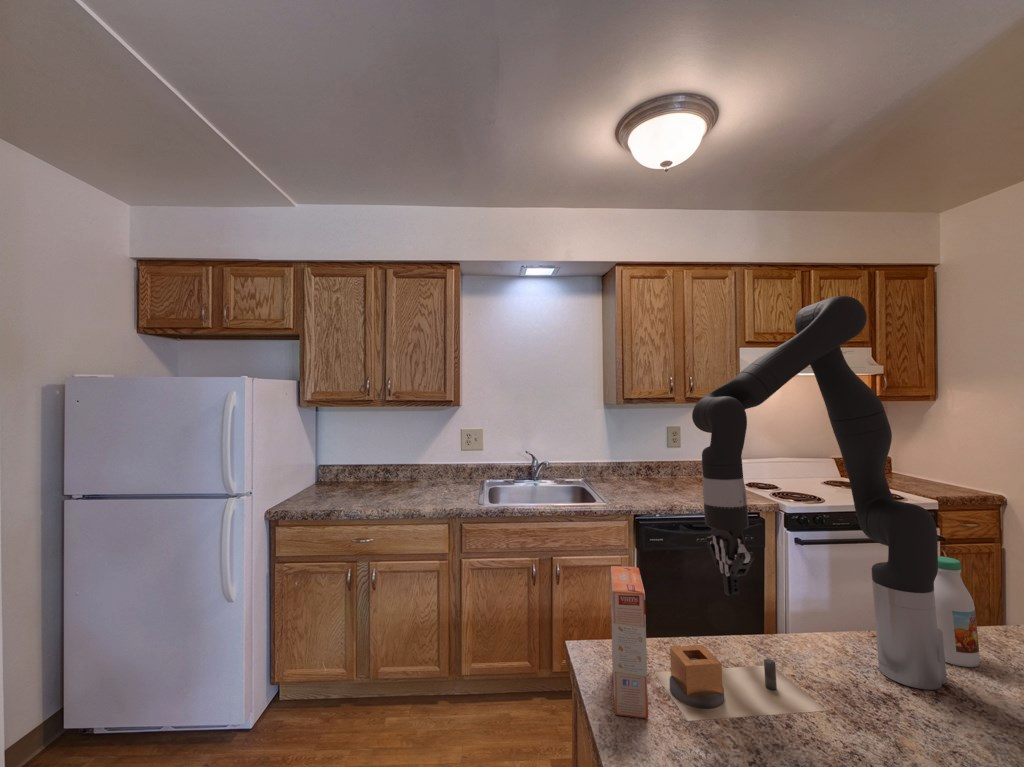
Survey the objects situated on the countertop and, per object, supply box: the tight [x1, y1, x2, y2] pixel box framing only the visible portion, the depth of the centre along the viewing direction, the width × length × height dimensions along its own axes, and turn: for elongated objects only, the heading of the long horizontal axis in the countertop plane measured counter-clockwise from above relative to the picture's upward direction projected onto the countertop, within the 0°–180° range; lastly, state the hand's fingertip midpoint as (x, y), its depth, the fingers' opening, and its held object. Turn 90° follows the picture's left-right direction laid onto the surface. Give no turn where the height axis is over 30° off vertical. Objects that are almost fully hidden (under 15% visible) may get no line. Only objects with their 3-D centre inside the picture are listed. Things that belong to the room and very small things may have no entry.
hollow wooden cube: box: [669, 644, 723, 696], centre depth 81 cm, size 6×6×5 cm
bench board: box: [653, 658, 828, 722], centre depth 82 cm, size 24×14×7 cm, turn 95°
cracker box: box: [610, 565, 649, 719], centre depth 84 cm, size 14×6×21 cm, turn 168°
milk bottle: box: [934, 555, 981, 668], centre depth 94 cm, size 8×8×20 cm
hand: (731, 594), depth 85 cm, fingers closed
